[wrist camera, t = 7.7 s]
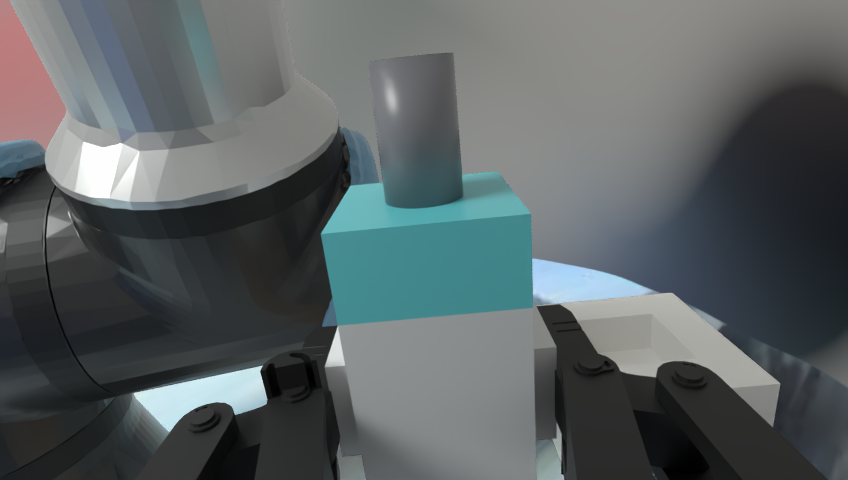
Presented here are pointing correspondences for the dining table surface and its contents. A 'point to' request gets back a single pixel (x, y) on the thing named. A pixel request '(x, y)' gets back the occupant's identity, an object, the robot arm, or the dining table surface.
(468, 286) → the plug
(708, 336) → the socket block
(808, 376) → the dining table surface
